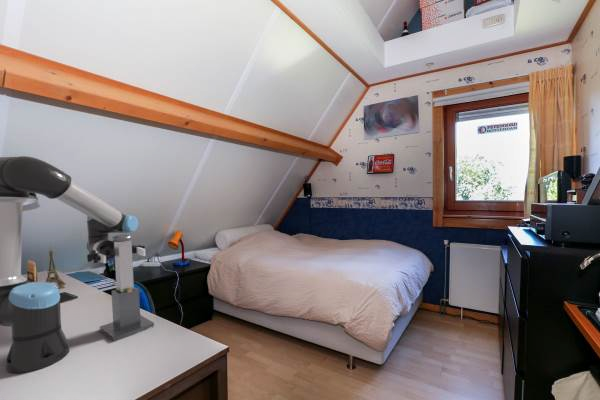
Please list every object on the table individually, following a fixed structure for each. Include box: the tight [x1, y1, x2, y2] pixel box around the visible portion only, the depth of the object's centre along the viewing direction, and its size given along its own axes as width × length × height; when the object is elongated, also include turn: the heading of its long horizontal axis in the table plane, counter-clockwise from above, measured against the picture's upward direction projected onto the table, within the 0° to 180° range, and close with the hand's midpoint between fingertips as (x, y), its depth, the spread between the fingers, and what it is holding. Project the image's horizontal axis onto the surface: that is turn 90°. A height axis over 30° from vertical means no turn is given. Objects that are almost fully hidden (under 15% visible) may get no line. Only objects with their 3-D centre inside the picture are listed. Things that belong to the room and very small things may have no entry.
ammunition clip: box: [26, 259, 38, 283], centre depth 181 cm, size 11×2×12 cm, turn 57°
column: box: [112, 234, 135, 293], centre depth 113 cm, size 6×6×28 cm
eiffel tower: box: [45, 243, 67, 290], centre depth 165 cm, size 11×11×25 cm
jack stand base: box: [99, 286, 155, 342], centre depth 114 cm, size 14×14×16 cm
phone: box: [59, 291, 78, 304], centre depth 149 cm, size 8×1×15 cm
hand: (125, 255), depth 112 cm, fingers open, 13 cm apart
